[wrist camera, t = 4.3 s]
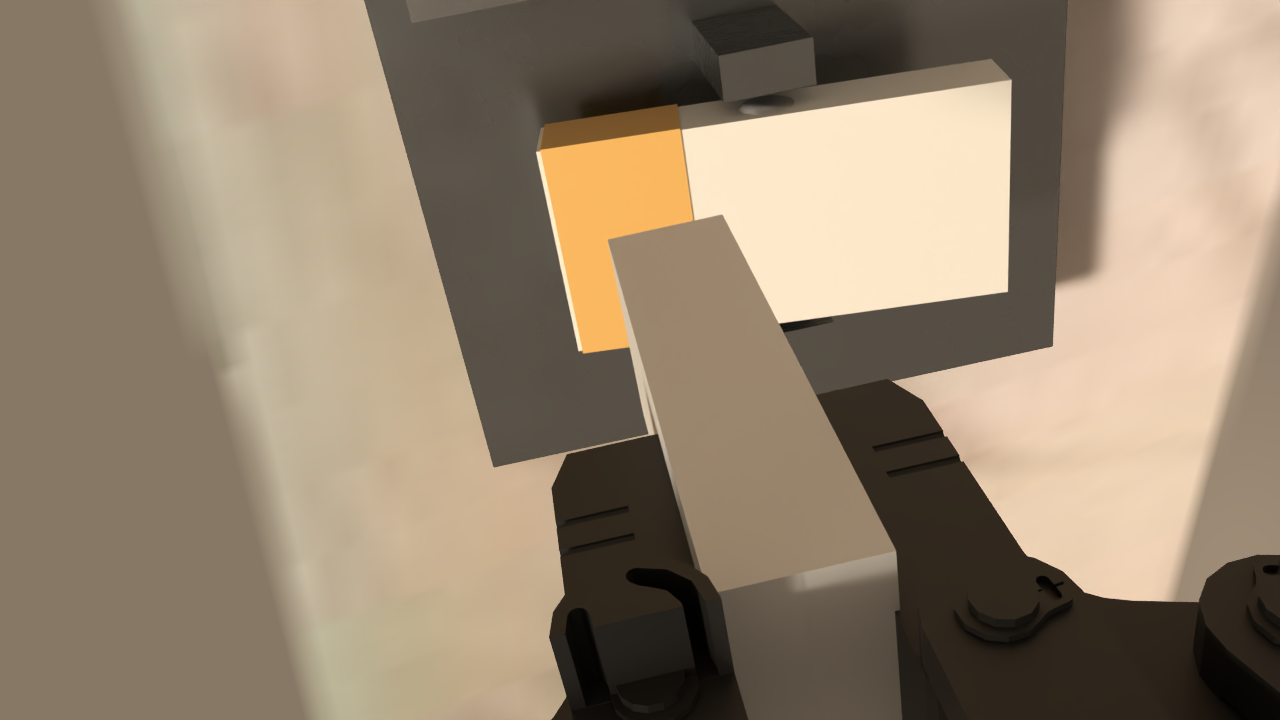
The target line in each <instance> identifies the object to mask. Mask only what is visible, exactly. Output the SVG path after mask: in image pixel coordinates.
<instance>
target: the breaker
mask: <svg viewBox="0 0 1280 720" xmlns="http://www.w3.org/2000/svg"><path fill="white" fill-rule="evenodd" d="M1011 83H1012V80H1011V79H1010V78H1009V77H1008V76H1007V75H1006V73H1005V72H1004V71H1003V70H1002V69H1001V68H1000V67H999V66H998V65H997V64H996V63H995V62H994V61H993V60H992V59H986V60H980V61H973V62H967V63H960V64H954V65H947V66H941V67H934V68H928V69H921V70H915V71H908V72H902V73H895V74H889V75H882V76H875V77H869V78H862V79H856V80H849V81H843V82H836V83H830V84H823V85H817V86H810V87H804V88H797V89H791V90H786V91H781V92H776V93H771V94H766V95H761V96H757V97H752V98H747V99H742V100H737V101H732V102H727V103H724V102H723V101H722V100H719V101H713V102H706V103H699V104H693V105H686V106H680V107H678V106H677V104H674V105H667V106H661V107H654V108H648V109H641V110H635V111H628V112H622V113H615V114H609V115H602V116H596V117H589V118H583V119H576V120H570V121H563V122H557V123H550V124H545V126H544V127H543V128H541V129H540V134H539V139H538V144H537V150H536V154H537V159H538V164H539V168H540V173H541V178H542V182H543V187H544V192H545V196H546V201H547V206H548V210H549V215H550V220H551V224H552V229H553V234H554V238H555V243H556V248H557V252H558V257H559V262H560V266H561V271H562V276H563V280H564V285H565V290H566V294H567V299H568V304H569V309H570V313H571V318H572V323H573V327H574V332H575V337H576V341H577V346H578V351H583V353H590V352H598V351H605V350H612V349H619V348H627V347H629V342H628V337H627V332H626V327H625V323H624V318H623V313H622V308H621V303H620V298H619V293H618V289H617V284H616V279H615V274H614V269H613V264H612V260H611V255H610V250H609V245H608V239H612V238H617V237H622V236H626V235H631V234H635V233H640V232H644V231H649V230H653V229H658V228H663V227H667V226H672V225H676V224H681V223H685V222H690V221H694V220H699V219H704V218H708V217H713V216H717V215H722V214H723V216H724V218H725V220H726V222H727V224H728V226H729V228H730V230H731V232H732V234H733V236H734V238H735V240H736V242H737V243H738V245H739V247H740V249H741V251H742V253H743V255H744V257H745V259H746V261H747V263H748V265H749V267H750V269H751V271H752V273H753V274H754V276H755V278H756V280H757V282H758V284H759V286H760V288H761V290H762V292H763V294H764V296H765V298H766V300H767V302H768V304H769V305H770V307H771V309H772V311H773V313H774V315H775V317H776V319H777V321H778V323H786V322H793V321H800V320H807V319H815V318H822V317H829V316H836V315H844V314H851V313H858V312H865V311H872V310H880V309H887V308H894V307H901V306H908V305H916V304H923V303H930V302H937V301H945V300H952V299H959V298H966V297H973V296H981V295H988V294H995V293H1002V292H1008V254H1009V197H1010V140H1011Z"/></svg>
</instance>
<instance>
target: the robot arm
mask: <svg viewBox="0 0 1280 720" xmlns="http://www.w3.org/2000/svg"><path fill="white" fill-rule="evenodd" d="M608 245H609V250H610V255H611V260H612V264H613V269H614V274H615V279H616V284H617V289H618V293H619V298H620V303H621V308H622V313H623V318H624V323H625V327H626V332H627V337H628V342H629V347H630V352H631V356H632V361H633V366H634V371H635V376H636V381H637V386H638V390H639V395H640V400H641V405H642V410H643V414H644V418H645V422H646V426H647V430H648V433H649V436H646V437H642V438H637V439H633V440H628V441H624V442H620V443H615V444H611V445H606V446H602V447H597V448H593V449H589V450H584V451H580V452H575V453H571V454H567V455H566V458H565V460H564V462H563V464H562V466H561V469H560V471H559V473H558V475H557V477H556V480H555V482H554V484H553V486H552V495H553V503H554V511H555V519H556V525H557V535H558V543H559V551H560V555H561V557H560V559H561V567H562V575H563V583H564V591H565V595H564V597H563V598H562V600H561V601H560V603H559V604H558V606H557V607H556V609H555V610H554V612H553V616H552V623H551V629H550V635H549V638H550V642H551V645H552V648H553V652H554V655H555V658H556V662H557V665H558V668H559V672H560V675H561V679H562V682H563V685H564V689H565V692H566V695H567V696H566V699H565V700H564V702H563V704H562V705H561V707H560V708H559V710H558V711H557V713H556V714H555V716H554V717H553V718H552V719H551V720H1280V555H1255V556H1251V557H1248V558H1244V559H1240V560H1236V561H1233V562H1229V563H1227V564H1225V565H1224V566H1223V567H1221V568H1220V569H1219V570H1218V571H1216V572H1215V573H1214V574H1212V575H1211V576H1210V577H1208V578H1207V580H1206V582H1205V585H1204V588H1203V591H1202V594H1201V597H1200V599H1199V602H1160V601H1129V600H1119V599H1109V598H1103V597H1099V596H1095V595H1092V594H1088V593H1084V592H1083V590H1082V589H1081V588H1079V587H1078V586H1077V585H1076V584H1075V583H1074V582H1073V581H1072V580H1071V579H1070V578H1069V577H1068V576H1067V575H1066V574H1065V573H1064V572H1063V571H1061V570H1059V569H1057V568H1055V567H1053V566H1050V565H1048V564H1046V563H1044V562H1042V561H1040V560H1038V559H1036V558H1032V557H1027V556H1026V554H1025V553H1024V552H1023V551H1022V549H1021V548H1020V546H1019V545H1018V543H1017V541H1016V540H1015V538H1014V537H1013V535H1012V534H1011V532H1010V531H1009V529H1008V528H1007V526H1006V525H1005V523H1004V522H1003V520H1002V519H1001V517H1000V516H999V514H998V513H997V511H996V510H995V508H994V507H993V505H992V504H991V502H990V501H989V499H988V498H987V496H986V495H985V493H984V492H983V490H982V489H981V487H980V486H979V484H978V483H977V481H976V480H975V478H974V477H973V475H972V474H971V472H970V471H969V469H968V468H967V466H966V465H965V463H964V462H961V461H960V458H959V454H958V453H957V451H956V450H955V448H954V447H953V445H952V443H951V442H950V440H949V439H948V437H947V436H946V437H944V434H943V430H942V428H941V427H940V425H939V424H938V422H937V421H936V419H935V418H934V416H933V415H932V413H931V412H930V410H929V409H928V407H927V406H926V404H925V403H924V401H923V400H921V399H920V398H918V397H916V396H915V395H913V394H911V393H910V392H908V391H906V390H905V389H903V388H901V387H900V386H898V385H896V384H895V383H893V382H892V381H890V380H888V379H884V380H880V381H875V382H871V383H866V384H862V385H858V386H853V387H849V388H844V389H840V390H835V391H831V392H827V393H822V394H818V395H815V393H814V391H813V389H812V387H811V385H810V383H809V381H808V379H807V377H806V375H805V373H804V371H803V369H802V367H801V366H800V364H799V362H798V360H797V358H796V356H795V354H794V352H793V350H792V348H791V346H790V344H789V342H788V340H787V338H786V336H785V335H784V333H783V331H782V329H781V327H780V325H779V323H778V321H777V319H776V317H775V315H774V313H773V311H772V309H771V307H770V305H769V304H768V302H767V300H766V298H765V296H764V294H763V292H762V290H761V288H760V286H759V284H758V282H757V280H756V278H755V276H754V274H753V273H752V271H751V269H750V267H749V265H748V263H747V261H746V259H745V257H744V255H743V253H742V251H741V249H740V247H739V245H738V243H737V242H736V240H735V238H734V236H733V234H732V232H731V230H730V228H729V226H728V224H727V222H726V220H725V218H724V216H723V214H722V215H717V216H713V217H708V218H704V219H699V220H694V221H690V222H685V223H681V224H676V225H672V226H667V227H663V228H658V229H653V230H649V231H644V232H640V233H635V234H631V235H626V236H622V237H617V238H612V239H608Z"/></svg>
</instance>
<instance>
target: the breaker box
mask: <svg viewBox="0 0 1280 720" xmlns="http://www.w3.org/2000/svg"><path fill="white" fill-rule="evenodd" d="M364 1H365V5H366V9H367V12H368V16H369V20H370V23H371V27H372V30H373V34H374V38H375V41H376V45H377V48H378V52H379V56H380V59H381V63H382V66H383V70H384V74H385V77H386V81H387V84H388V88H389V92H390V95H391V99H392V102H393V106H394V110H395V113H396V117H397V120H398V124H399V128H400V131H401V135H402V139H403V142H404V146H405V149H406V153H407V157H408V160H409V164H410V167H411V171H412V175H413V178H414V182H415V185H416V189H417V193H418V196H419V200H420V203H421V207H422V211H423V214H424V218H425V221H426V225H427V229H428V232H429V236H430V239H431V243H432V247H433V250H434V254H435V258H436V261H437V265H438V268H439V272H440V276H441V279H442V283H443V286H444V290H445V294H446V297H447V301H448V304H449V308H450V312H451V315H452V319H453V322H454V326H455V330H456V333H457V337H458V340H459V344H460V348H461V351H462V355H463V358H464V362H465V366H466V369H467V373H468V377H469V380H470V384H471V387H472V391H473V395H474V398H475V402H476V405H477V409H478V413H479V416H480V420H481V423H482V427H483V431H484V434H485V438H486V441H487V445H488V449H489V452H490V456H491V459H492V463H493V467H498V466H503V465H507V464H512V463H517V462H521V461H526V460H530V459H535V458H540V457H544V456H549V455H554V454H558V453H563V452H567V451H572V450H577V449H581V448H586V447H590V446H595V445H600V444H604V443H609V442H614V441H618V440H623V439H627V438H632V437H637V436H641V435H646V434H649V433H648V430H647V426H646V422H645V418H644V414H643V410H642V405H641V400H640V395H639V390H638V386H637V381H636V376H635V371H634V366H633V361H632V356H631V352H630V347H627V348H619V349H612V350H605V351H598V352H590V353H583V351H578V346H577V341H576V337H575V332H574V327H573V323H572V318H571V313H570V309H569V304H568V299H567V294H566V290H565V285H564V280H563V276H562V271H561V266H560V262H559V257H558V252H557V248H556V243H555V238H554V234H553V229H552V224H551V220H550V215H549V210H548V206H547V201H546V196H545V192H544V187H543V182H542V178H541V173H540V168H539V164H538V159H537V154H536V150H537V144H538V139H539V134H540V129H541V128H543V127H544V126H545V124H550V123H557V122H563V121H570V120H576V119H583V118H589V117H596V116H602V115H609V114H615V113H622V112H628V111H635V110H641V109H648V108H654V107H661V106H667V105H674V104H677V106H678V107H680V106H686V105H693V104H699V103H706V102H713V101H719V100H722V101H723V102H724V103H727V102H732V101H737V100H742V99H747V98H752V97H757V96H761V95H766V94H771V93H776V92H781V91H786V90H791V89H797V88H804V87H810V86H817V85H823V84H830V83H836V82H843V81H849V80H856V79H862V78H869V77H875V76H882V75H889V74H895V73H902V72H908V71H915V70H921V69H928V68H934V67H941V66H947V65H954V64H960V63H967V62H973V61H980V60H986V59H992V60H993V61H994V62H995V63H996V64H997V65H998V66H999V67H1000V68H1001V69H1002V70H1003V71H1004V72H1005V73H1006V75H1007V76H1008V77H1009V78H1010V79H1011V80H1012V83H1011V140H1010V197H1009V254H1008V292H1002V293H995V294H988V295H981V296H973V297H966V298H959V299H952V300H945V301H937V302H930V303H923V304H916V305H908V306H901V307H894V308H887V309H880V310H872V311H865V312H858V313H851V314H844V315H836V316H829V317H822V318H815V319H807V320H800V321H793V322H786V323H779V325H780V327H781V329H782V331H783V333H784V335H785V336H786V338H787V340H788V342H789V344H790V346H791V348H792V350H793V352H794V354H795V356H796V358H797V360H798V362H799V364H800V366H801V367H802V369H803V371H804V373H805V375H806V377H807V379H808V381H809V383H810V385H811V387H812V389H813V391H814V393H815V395H818V394H822V393H827V392H831V391H835V390H840V389H844V388H849V387H853V386H858V385H862V384H866V383H871V382H875V381H880V380H884V379H888V380H890V381H895V380H900V379H904V378H909V377H914V376H918V375H923V374H927V373H932V372H937V371H941V370H946V369H950V368H955V367H960V366H964V365H969V364H973V363H978V362H983V361H987V360H992V359H997V358H1001V357H1006V356H1010V355H1015V354H1020V353H1024V352H1029V351H1033V350H1038V349H1043V348H1047V347H1052V346H1053V328H1054V304H1055V281H1056V257H1057V233H1058V210H1059V186H1060V162H1061V139H1062V115H1063V91H1064V68H1065V44H1066V20H1067V0H364Z"/></svg>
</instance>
